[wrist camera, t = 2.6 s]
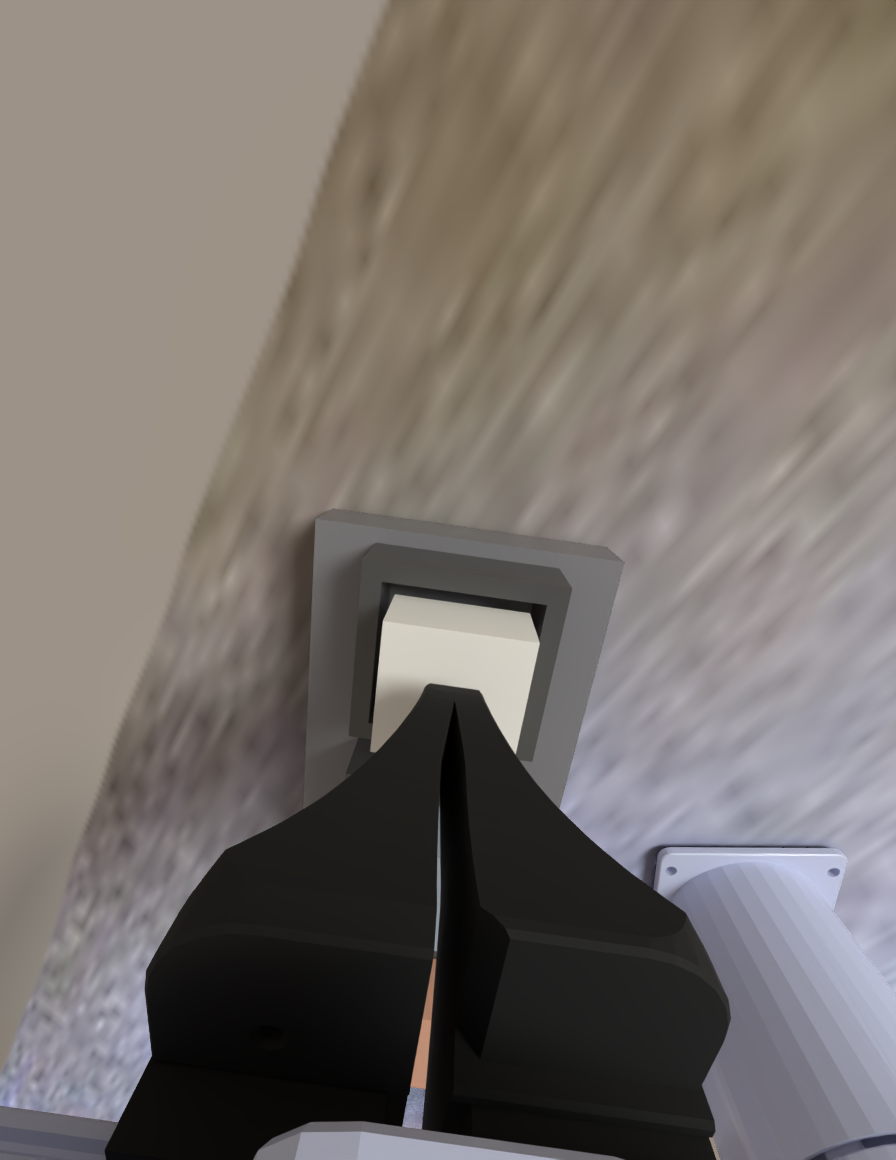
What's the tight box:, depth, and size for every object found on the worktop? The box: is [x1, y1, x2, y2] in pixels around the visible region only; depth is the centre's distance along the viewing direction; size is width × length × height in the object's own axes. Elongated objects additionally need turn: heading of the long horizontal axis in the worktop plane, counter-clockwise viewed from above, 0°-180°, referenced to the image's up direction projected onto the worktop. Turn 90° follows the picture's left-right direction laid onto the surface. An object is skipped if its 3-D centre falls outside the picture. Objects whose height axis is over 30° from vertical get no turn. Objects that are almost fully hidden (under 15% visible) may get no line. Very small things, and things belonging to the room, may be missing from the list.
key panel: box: [303, 509, 624, 959], centre depth 18 cm, size 22×10×4 cm, turn 172°
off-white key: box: [370, 594, 540, 754], centre depth 13 cm, size 4×4×2 cm
